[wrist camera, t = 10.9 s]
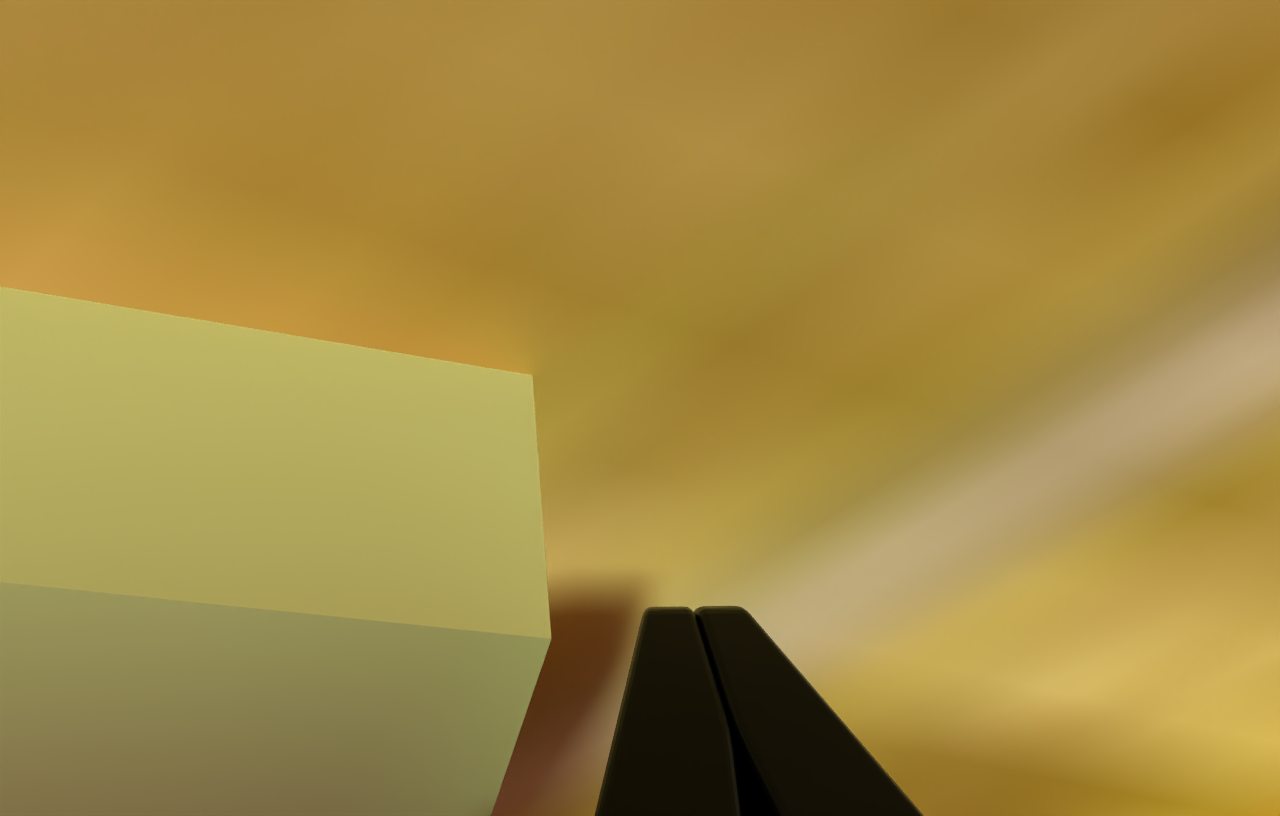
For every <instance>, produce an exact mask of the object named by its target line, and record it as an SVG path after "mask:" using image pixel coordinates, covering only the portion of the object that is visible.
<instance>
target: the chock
mask: <svg viewBox="0 0 1280 816" xmlns="http://www.w3.org/2000/svg"><path fill="white" fill-rule="evenodd" d="M550 641H551V626H550V613H549V599H548V585H547V571H546V557H545V543H544V529H543V515H542V501H541V488H540V474H539V460H538V446H537V432H536V418H535V404H534V390H533V376H532V375H527V374H522V373H516V372H510V371H504V370H498V369H492V368H486V367H480V366H474V365H468V364H462V363H456V362H450V361H444V360H438V359H432V358H426V357H420V356H414V355H408V354H402V353H396V352H390V351H384V350H378V349H372V348H366V347H360V346H354V345H348V344H342V343H336V342H330V341H324V340H318V339H312V338H306V337H300V336H294V335H288V334H282V333H276V332H270V331H264V330H258V329H252V328H246V327H240V326H234V325H228V324H222V323H216V322H210V321H204V320H198V319H192V318H186V317H180V316H174V315H168V314H162V313H156V312H150V311H144V310H138V309H133V308H127V307H121V306H115V305H109V304H103V303H97V302H91V301H85V300H79V299H73V298H67V297H61V296H55V295H49V294H43V293H37V292H31V291H25V290H19V289H13V288H7V287H1V286H0V816H491V814H492V811H493V808H494V805H495V802H496V799H497V797H498V794H499V791H500V788H501V785H502V782H503V779H504V776H505V773H506V770H507V767H508V764H509V761H510V758H511V756H512V753H513V750H514V747H515V744H516V741H517V738H518V735H519V732H520V729H521V726H522V723H523V720H524V717H525V715H526V712H527V709H528V706H529V703H530V700H531V697H532V694H533V691H534V688H535V685H536V682H537V679H538V676H539V674H540V671H541V668H542V665H543V662H544V659H545V656H546V653H547V650H548V647H549V644H550Z"/></svg>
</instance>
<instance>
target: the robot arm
mask: <svg viewBox="0 0 1280 816" xmlns="http://www.w3.org/2000/svg"><path fill="white" fill-rule="evenodd" d="M595 816H924V815H923V814H922V813H921V812H920V811H919V810H918V809H917V807H916V806H915V805H914V804H913V803H912V802H911V800H910V799H909V798H908V797H907V796H906V795H905V793H904V792H903V791H902V790H901V789H900V788H899V786H898V785H897V784H896V783H895V782H894V781H893V779H892V778H891V777H890V776H889V775H888V774H887V773H886V771H885V770H884V769H883V768H882V767H881V766H880V764H879V763H878V762H877V761H876V760H875V759H874V757H873V756H872V755H871V754H870V753H869V752H868V750H867V749H866V748H865V747H864V746H863V745H862V744H861V742H860V741H859V740H858V739H857V738H856V737H855V735H854V734H853V733H852V732H851V731H850V730H849V728H848V727H847V726H846V725H845V724H844V723H843V721H842V720H841V719H840V718H839V717H838V716H837V714H836V713H835V712H834V711H833V710H832V709H831V708H830V706H829V705H828V704H827V703H826V702H825V701H824V699H823V698H822V697H821V696H820V695H819V694H818V692H817V691H816V690H815V689H814V688H813V687H812V685H811V684H810V683H809V682H808V681H807V680H806V679H805V677H804V676H803V675H802V674H801V673H800V672H799V670H798V669H797V668H796V667H795V666H794V665H793V663H792V662H791V661H790V660H789V659H788V658H787V656H786V655H785V654H784V653H783V652H782V651H781V649H780V648H779V647H778V646H777V645H776V644H775V643H774V641H773V640H772V639H771V638H770V637H769V636H768V634H767V633H766V632H765V631H764V630H763V629H762V627H761V626H760V625H759V624H758V623H757V622H756V620H755V619H754V618H753V617H752V616H751V615H750V614H749V613H748V612H747V611H746V610H745V609H743V608H741V607H738V606H702V607H699V608H697V609H696V610H695V611H694V612H693V611H692V610H691V609H690V608H688V607H649V608H647V609H646V610H645V611H644V613H643V615H642V619H641V623H640V627H639V631H638V636H637V640H636V644H635V648H634V652H633V657H632V661H631V665H630V669H629V673H628V678H627V682H626V686H625V690H624V694H623V699H622V703H621V707H620V711H619V715H618V720H617V724H616V728H615V732H614V736H613V741H612V745H611V749H610V753H609V757H608V762H607V766H606V770H605V774H604V778H603V783H602V787H601V791H600V795H599V799H598V804H597V808H596V812H595Z"/></svg>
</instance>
